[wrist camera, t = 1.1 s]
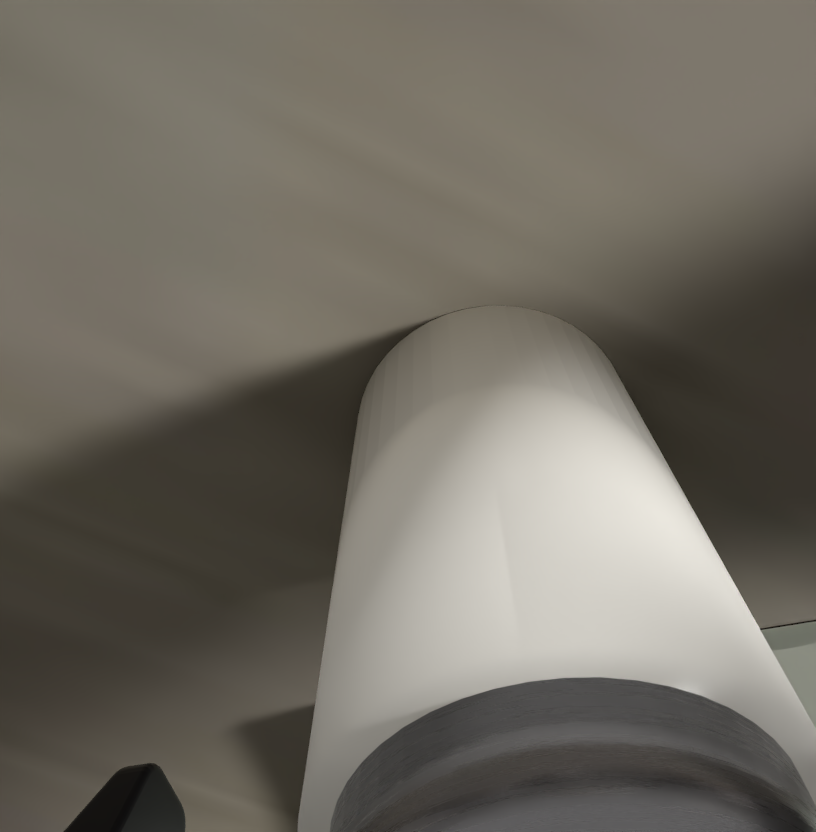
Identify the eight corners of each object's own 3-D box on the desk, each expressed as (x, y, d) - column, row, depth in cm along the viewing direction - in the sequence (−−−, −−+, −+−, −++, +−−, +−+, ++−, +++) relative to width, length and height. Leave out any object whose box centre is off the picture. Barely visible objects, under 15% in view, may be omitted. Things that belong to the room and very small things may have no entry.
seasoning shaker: (612, 277, 13) (997, 793, 4) (639, 516, 15) (927, 1167, 7) (325, 339, 13) (163, 903, 5) (393, 560, 16) (362, 1213, 7)
